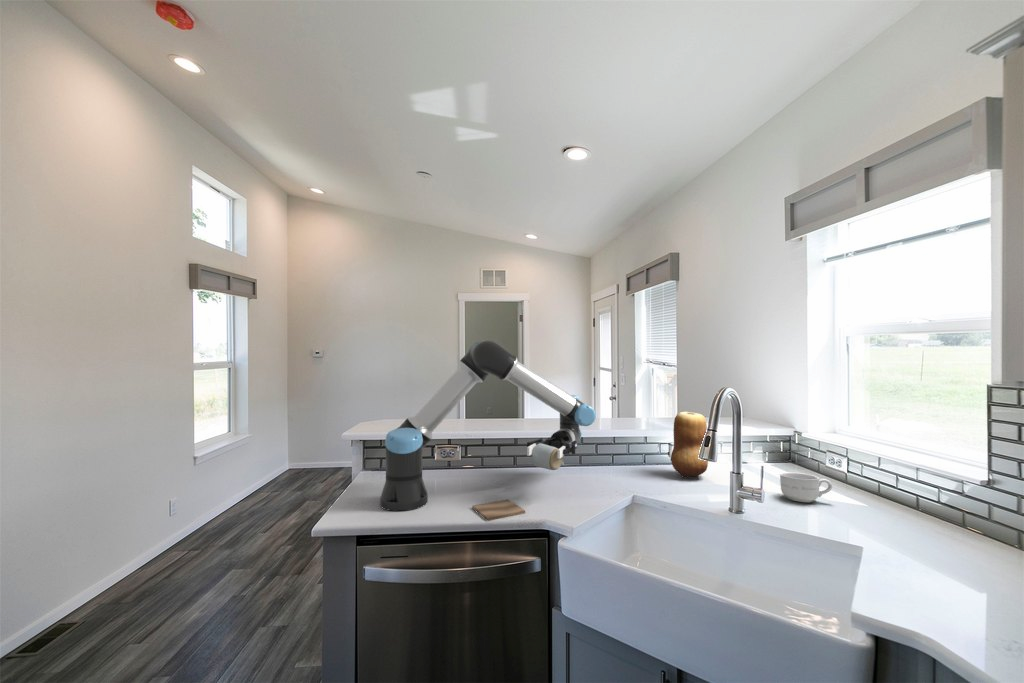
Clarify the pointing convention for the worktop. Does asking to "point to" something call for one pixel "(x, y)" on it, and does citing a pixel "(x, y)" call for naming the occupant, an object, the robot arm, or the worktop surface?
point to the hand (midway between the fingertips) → (543, 452)
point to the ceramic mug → (546, 457)
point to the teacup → (802, 486)
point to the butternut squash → (688, 444)
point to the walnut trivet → (498, 509)
